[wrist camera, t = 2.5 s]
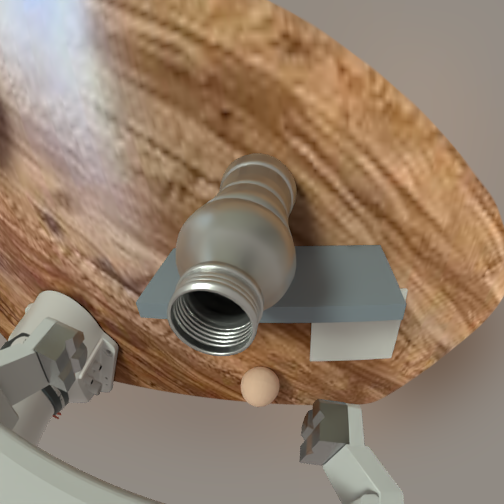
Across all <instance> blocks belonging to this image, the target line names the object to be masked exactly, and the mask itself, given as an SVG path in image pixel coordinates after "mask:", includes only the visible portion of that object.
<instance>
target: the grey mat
mask: <svg viewBox="0 0 504 504" xmlns="http://www.w3.org/2000/svg"><path fill="white" fill-rule="evenodd" d="M400 290H401V292H402V295H403V297H404V299H405V301H406V296H407V291H408V290H407V288H401V289H400ZM400 322H401V320H388V321H366V322H333V323H312V325H311V348H310V361H343V360H366V359H383V358H391V356H392V353H393V349H394V346H395V342H396V338H397V334H398V330H399V326H400Z"/></svg>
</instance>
